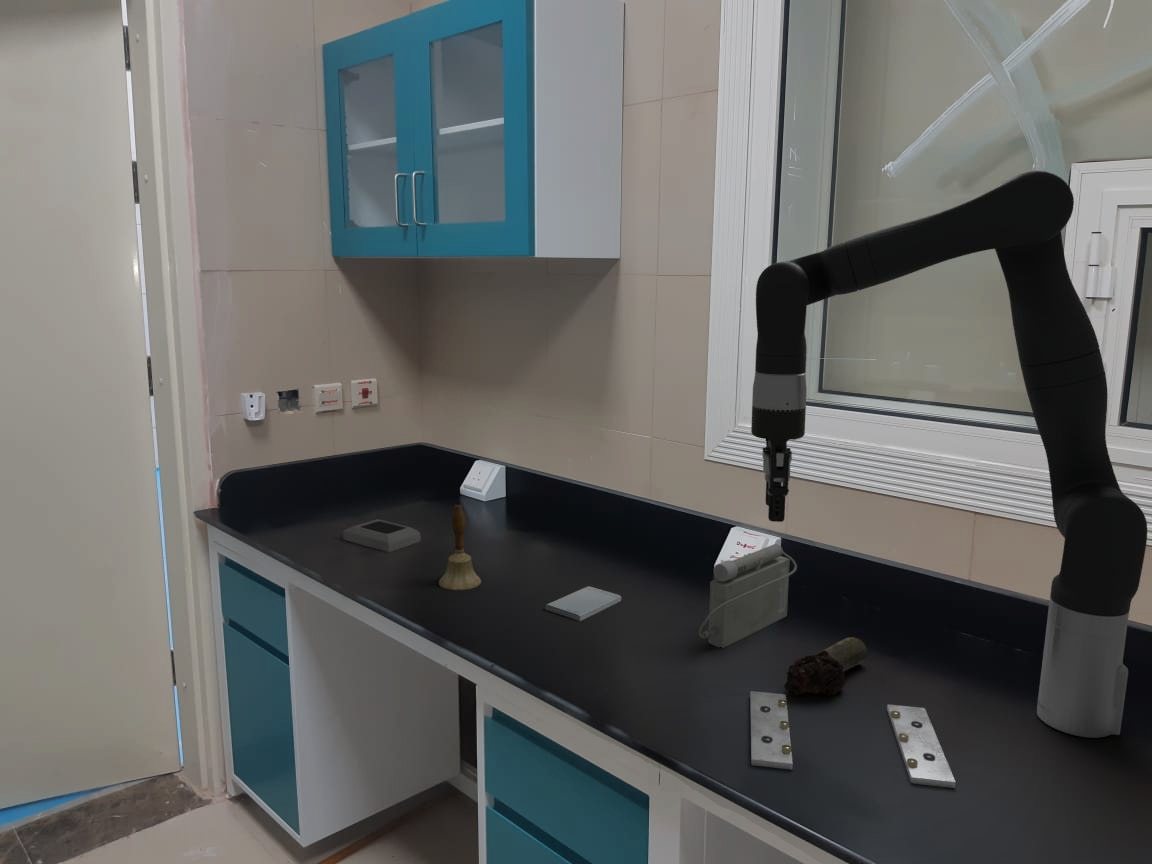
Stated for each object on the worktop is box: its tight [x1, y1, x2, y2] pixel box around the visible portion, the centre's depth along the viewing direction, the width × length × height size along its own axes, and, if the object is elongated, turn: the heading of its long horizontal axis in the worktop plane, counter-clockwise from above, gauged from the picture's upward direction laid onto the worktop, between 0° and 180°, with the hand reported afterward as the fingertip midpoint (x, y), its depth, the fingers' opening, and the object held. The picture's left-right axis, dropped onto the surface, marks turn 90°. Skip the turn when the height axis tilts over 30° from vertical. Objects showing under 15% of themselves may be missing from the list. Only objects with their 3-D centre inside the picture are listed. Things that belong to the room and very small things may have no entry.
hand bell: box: [438, 504, 482, 591], centre depth 167 cm, size 8×8×16 cm
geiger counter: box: [698, 543, 798, 649], centre depth 144 cm, size 14×6×25 cm
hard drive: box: [544, 585, 622, 622], centre depth 158 cm, size 2×8×12 cm
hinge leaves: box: [749, 690, 956, 789], centre depth 113 cm, size 24×18×1 cm
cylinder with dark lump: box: [783, 637, 869, 696], centre depth 128 cm, size 18×7×6 cm, turn 134°
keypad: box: [342, 518, 421, 553], centre depth 194 cm, size 10×4×15 cm
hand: (774, 512), depth 125 cm, fingers open, 8 cm apart
